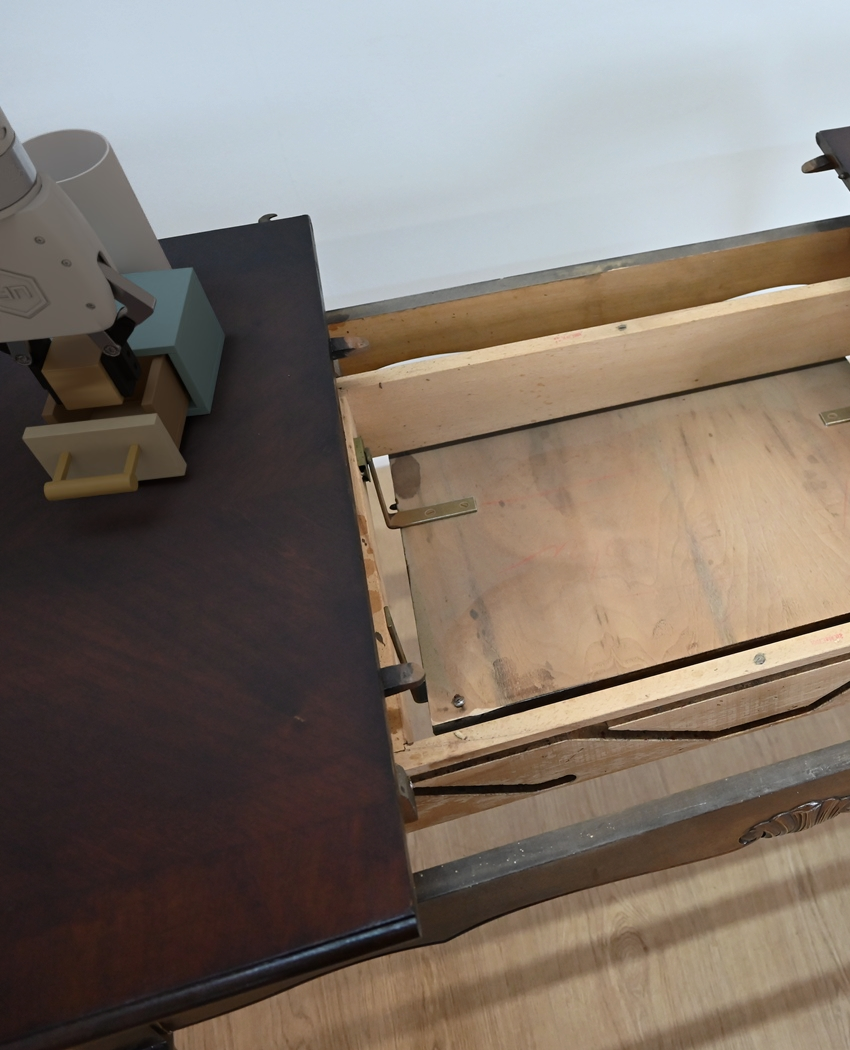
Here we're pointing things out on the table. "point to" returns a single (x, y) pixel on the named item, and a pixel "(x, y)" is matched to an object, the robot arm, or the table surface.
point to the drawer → (115, 437)
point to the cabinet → (181, 331)
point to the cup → (100, 195)
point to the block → (79, 373)
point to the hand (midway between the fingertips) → (98, 386)
